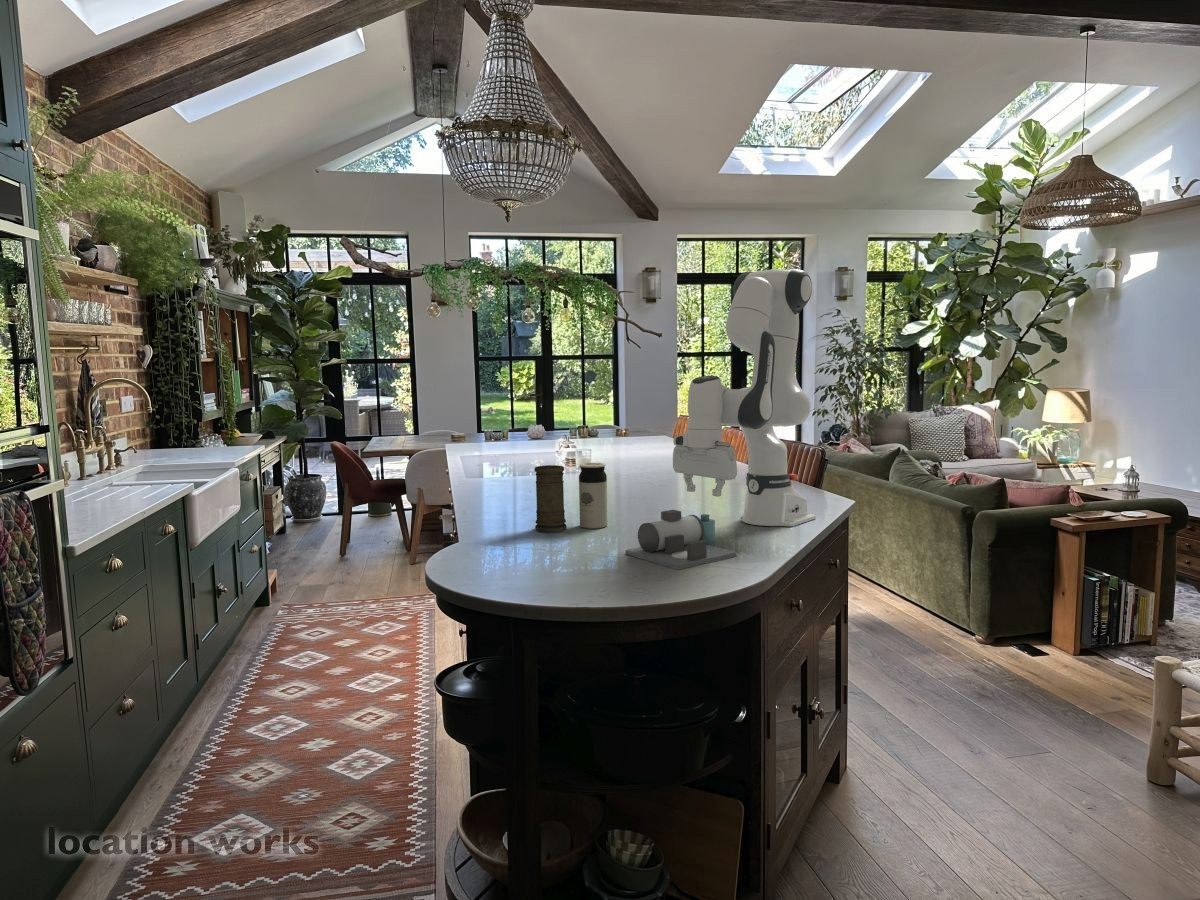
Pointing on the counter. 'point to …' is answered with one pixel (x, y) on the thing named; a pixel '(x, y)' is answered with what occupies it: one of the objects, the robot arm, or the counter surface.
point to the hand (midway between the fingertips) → (703, 493)
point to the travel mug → (593, 495)
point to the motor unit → (676, 542)
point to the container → (550, 499)
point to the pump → (708, 529)
